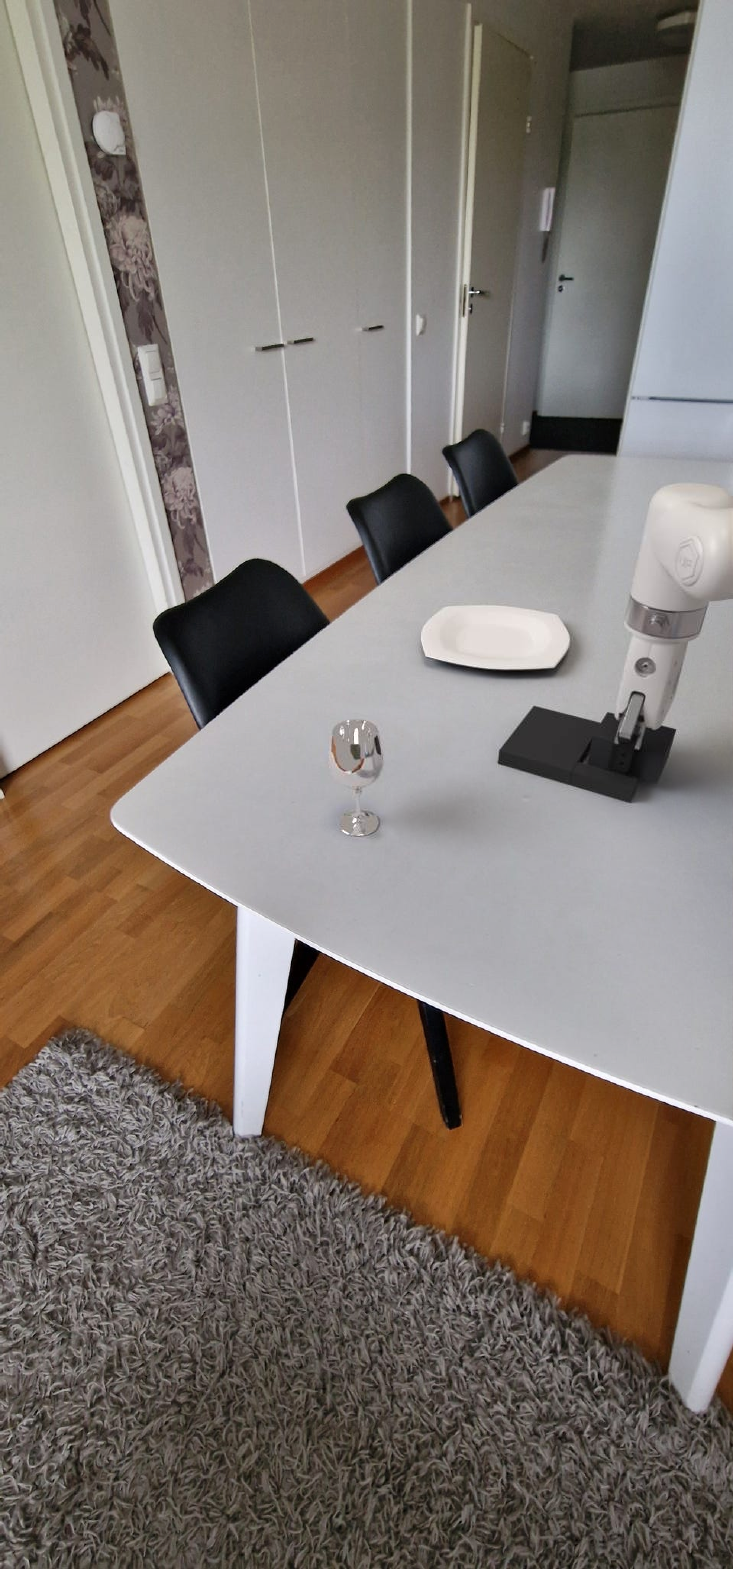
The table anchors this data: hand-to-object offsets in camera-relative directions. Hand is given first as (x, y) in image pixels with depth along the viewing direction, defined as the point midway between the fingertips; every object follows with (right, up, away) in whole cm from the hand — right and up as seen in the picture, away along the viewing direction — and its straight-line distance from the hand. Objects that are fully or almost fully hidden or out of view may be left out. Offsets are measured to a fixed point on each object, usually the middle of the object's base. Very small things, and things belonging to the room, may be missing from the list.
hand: (629, 756), depth 83 cm
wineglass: (-32, -8, -5) cm, 33 cm away
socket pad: (-5, 0, +4) cm, 6 cm away
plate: (-11, +19, +29) cm, 36 cm away
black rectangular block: (0, 0, 0) cm, 1 cm away
